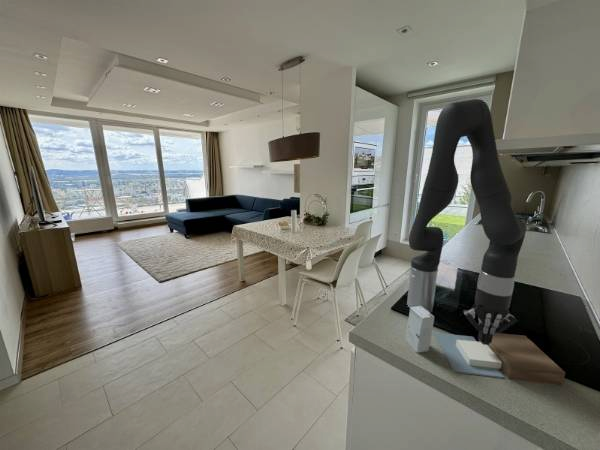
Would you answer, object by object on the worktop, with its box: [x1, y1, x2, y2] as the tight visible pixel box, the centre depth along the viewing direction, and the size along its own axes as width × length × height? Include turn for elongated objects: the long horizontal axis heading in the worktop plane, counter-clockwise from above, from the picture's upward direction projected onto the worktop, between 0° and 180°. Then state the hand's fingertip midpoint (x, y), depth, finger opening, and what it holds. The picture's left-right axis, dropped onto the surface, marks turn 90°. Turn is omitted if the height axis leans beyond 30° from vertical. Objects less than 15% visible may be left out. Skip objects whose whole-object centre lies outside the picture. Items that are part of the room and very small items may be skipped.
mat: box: [433, 332, 505, 379], centre depth 72 cm, size 16×12×1 cm
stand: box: [488, 332, 566, 387], centre depth 68 cm, size 14×12×4 cm
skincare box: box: [405, 306, 435, 353], centre depth 74 cm, size 6×4×12 cm
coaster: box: [456, 340, 502, 370], centre depth 70 cm, size 8×8×2 cm
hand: (483, 342), depth 69 cm, fingers closed
